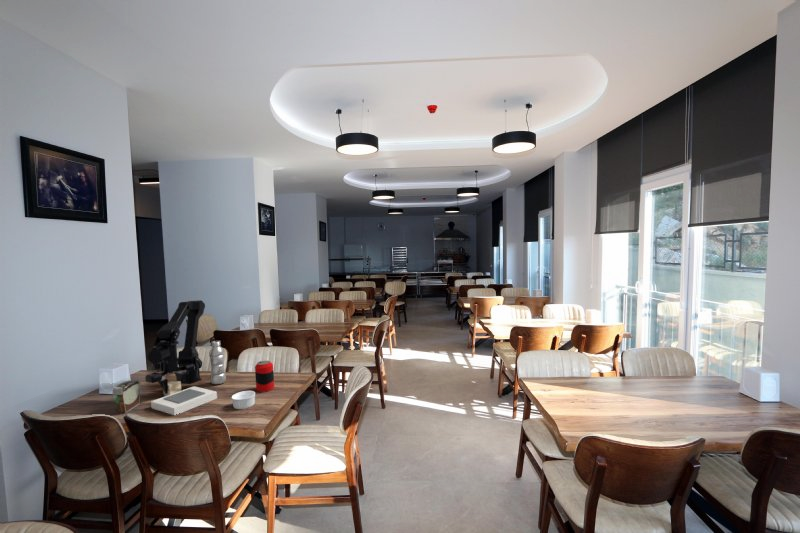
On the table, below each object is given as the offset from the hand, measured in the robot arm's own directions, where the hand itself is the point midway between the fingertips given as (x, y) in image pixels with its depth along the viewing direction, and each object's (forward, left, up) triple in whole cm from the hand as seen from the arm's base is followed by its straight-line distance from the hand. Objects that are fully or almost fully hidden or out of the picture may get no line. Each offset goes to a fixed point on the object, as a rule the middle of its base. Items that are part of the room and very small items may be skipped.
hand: (172, 391), depth 170 cm
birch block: (0, 0, -1) cm, 1 cm away
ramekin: (-5, +41, -1) cm, 41 cm away
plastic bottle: (-17, +8, -1) cm, 19 cm away
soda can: (-21, +35, -1) cm, 41 cm away
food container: (+18, -2, -1) cm, 18 cm away
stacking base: (+4, +16, -1) cm, 17 cm away
